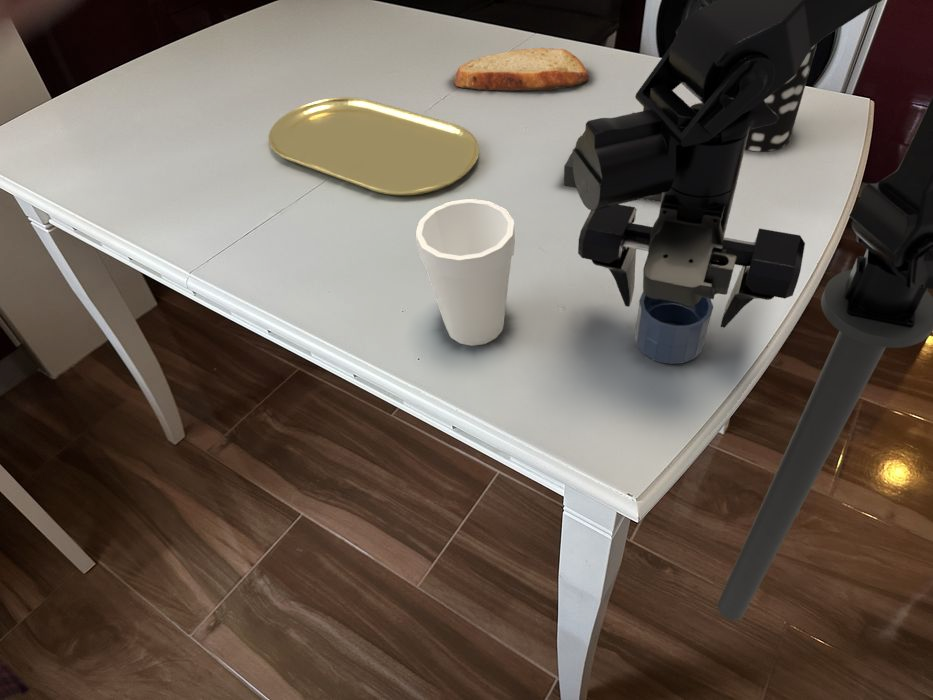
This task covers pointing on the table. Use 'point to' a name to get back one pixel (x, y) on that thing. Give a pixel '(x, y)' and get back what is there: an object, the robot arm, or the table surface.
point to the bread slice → (523, 71)
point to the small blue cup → (672, 329)
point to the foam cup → (468, 266)
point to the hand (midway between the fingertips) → (674, 314)
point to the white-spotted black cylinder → (782, 111)
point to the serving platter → (375, 145)
